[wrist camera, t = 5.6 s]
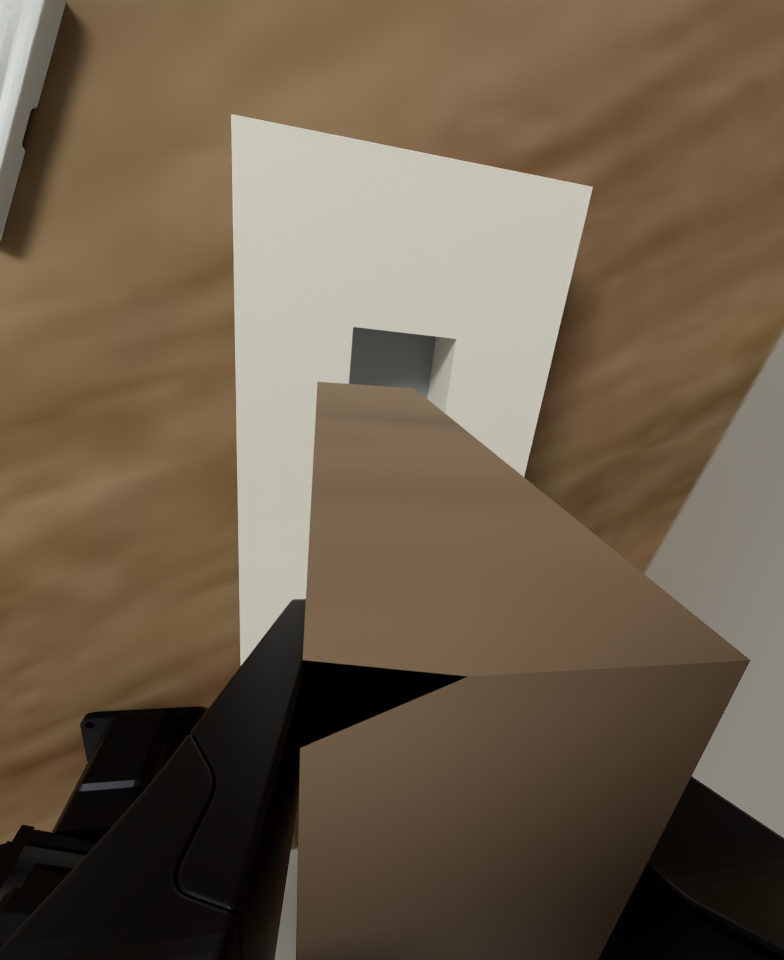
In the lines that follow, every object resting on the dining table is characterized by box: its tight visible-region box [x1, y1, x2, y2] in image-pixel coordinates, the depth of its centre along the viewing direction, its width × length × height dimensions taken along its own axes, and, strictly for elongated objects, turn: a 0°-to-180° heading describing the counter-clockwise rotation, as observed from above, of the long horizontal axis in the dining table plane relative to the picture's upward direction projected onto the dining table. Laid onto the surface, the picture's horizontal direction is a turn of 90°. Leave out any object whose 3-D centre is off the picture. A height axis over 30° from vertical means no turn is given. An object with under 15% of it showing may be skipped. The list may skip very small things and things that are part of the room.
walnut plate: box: [296, 382, 750, 960], centre depth 8 cm, size 8×2×9 cm, turn 175°
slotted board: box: [231, 114, 593, 665], centre depth 19 cm, size 22×12×4 cm, turn 174°
